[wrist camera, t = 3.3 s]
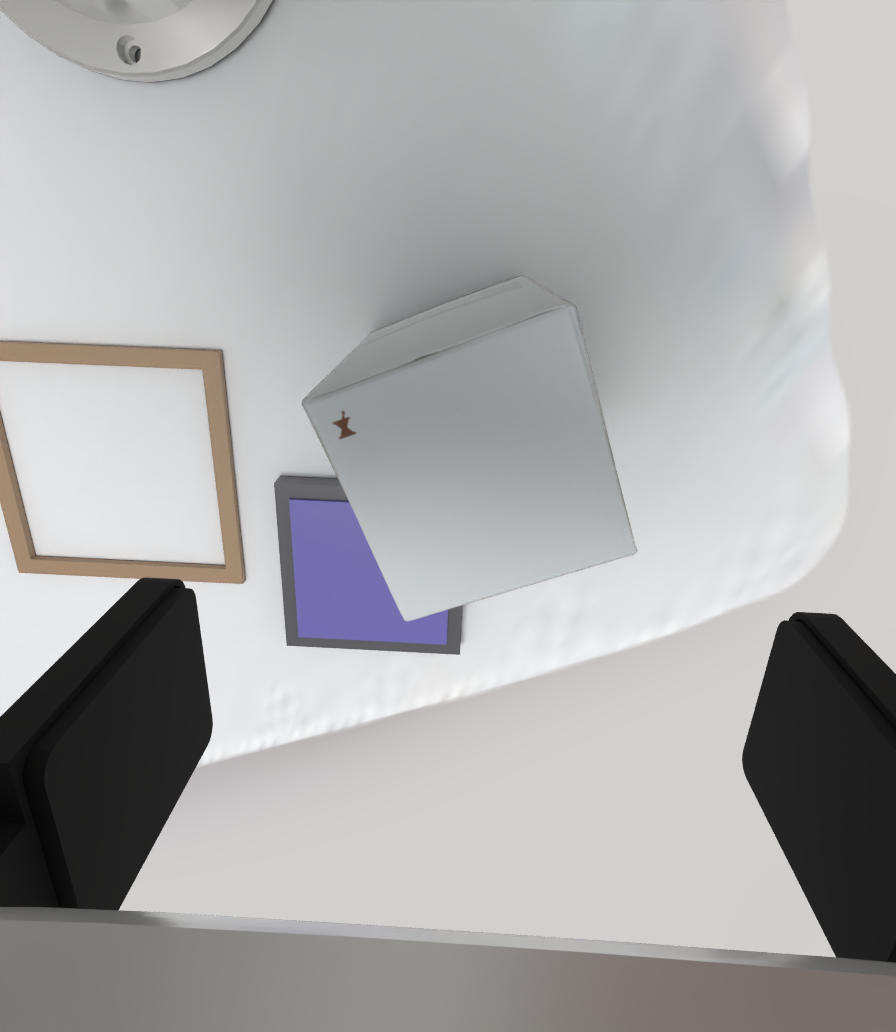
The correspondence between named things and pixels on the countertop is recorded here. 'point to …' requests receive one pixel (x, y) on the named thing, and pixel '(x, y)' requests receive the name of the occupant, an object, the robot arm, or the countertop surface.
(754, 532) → the countertop surface
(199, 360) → the tan picture frame
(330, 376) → the supplement box
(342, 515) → the ink pad
